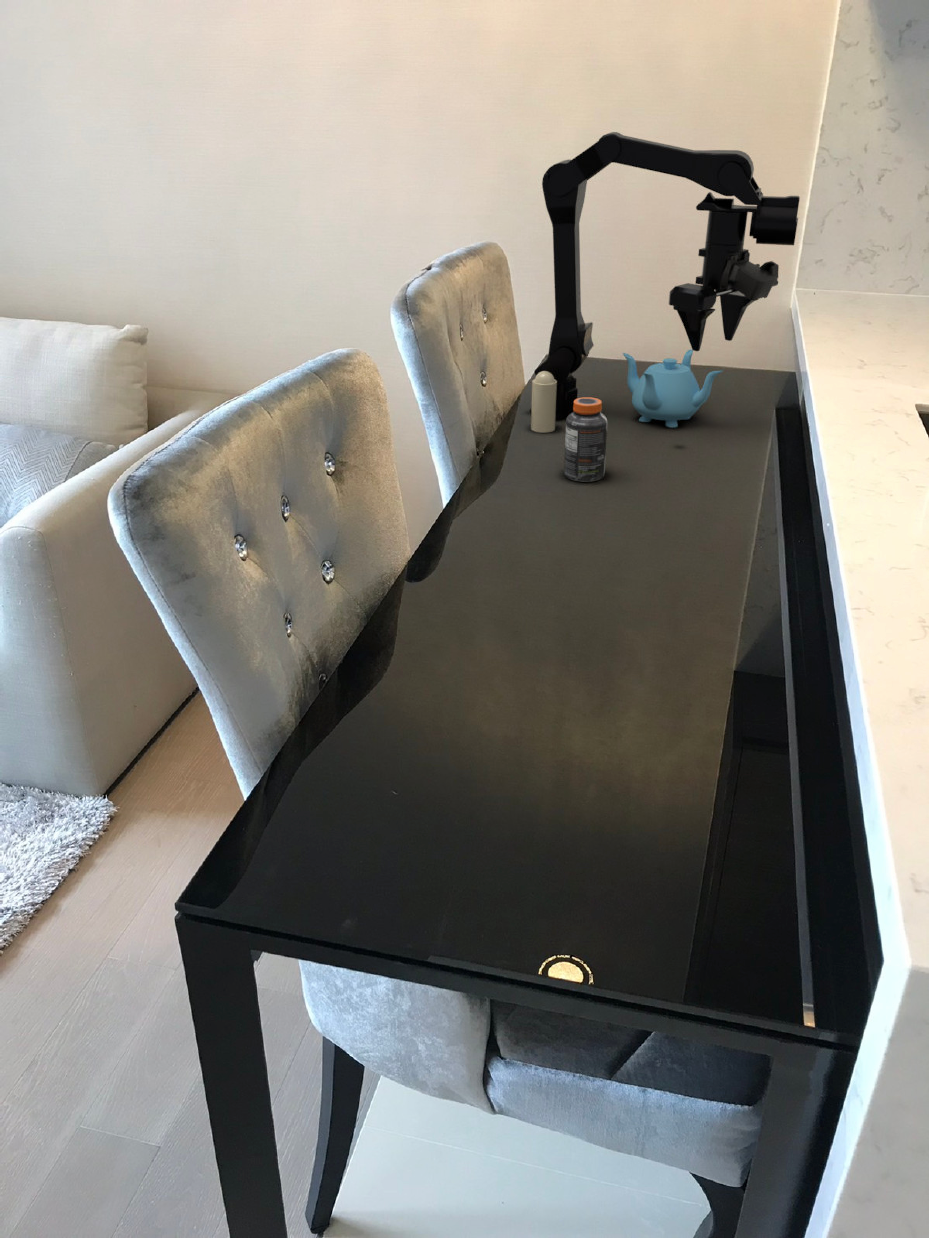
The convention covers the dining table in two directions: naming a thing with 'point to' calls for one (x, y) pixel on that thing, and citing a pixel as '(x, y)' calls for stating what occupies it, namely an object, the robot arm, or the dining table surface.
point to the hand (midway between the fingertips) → (712, 345)
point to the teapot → (667, 390)
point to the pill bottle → (585, 441)
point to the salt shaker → (543, 402)
